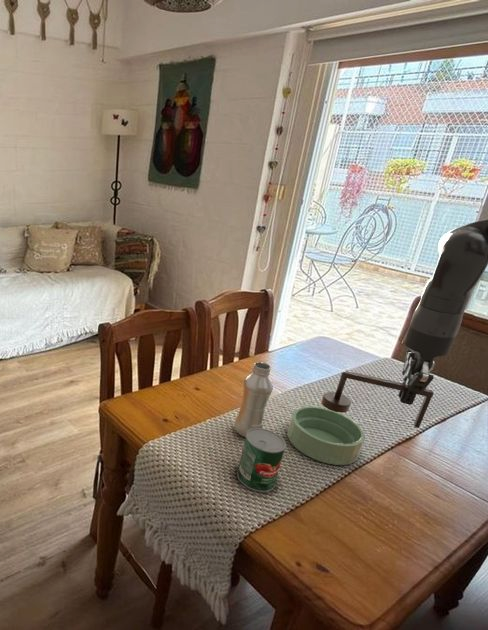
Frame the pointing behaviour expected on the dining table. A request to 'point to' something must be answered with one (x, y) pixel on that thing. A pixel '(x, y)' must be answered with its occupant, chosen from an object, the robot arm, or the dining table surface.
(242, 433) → the plastic bottle
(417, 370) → the robot arm
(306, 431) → the bowl
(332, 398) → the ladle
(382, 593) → the dining table surface
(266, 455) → the canned tomato
